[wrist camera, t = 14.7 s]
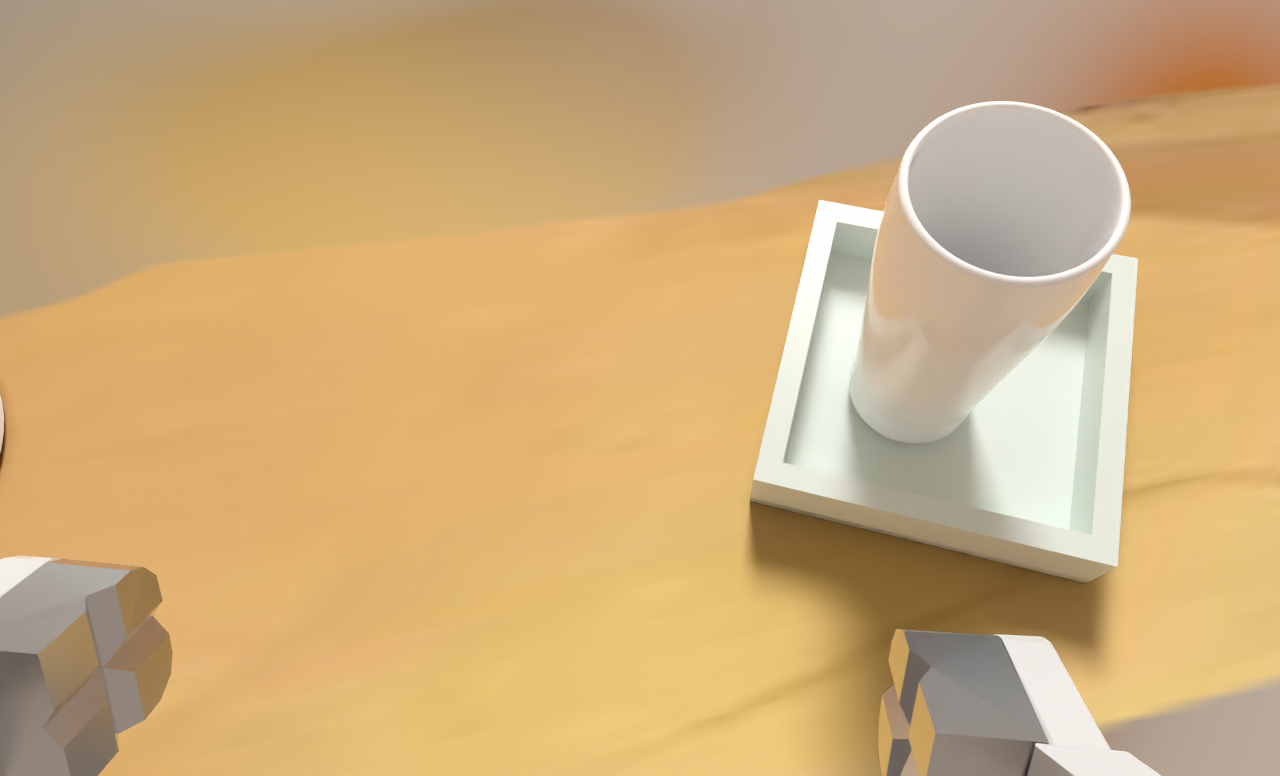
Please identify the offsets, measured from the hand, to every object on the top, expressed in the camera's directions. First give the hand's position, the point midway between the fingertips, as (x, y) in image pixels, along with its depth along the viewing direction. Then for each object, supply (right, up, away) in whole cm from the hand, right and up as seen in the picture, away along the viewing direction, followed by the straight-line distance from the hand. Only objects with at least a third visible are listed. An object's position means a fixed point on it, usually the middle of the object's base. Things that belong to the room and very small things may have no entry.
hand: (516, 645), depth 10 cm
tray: (+15, +3, +30) cm, 34 cm away
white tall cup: (+13, +3, +30) cm, 33 cm away
